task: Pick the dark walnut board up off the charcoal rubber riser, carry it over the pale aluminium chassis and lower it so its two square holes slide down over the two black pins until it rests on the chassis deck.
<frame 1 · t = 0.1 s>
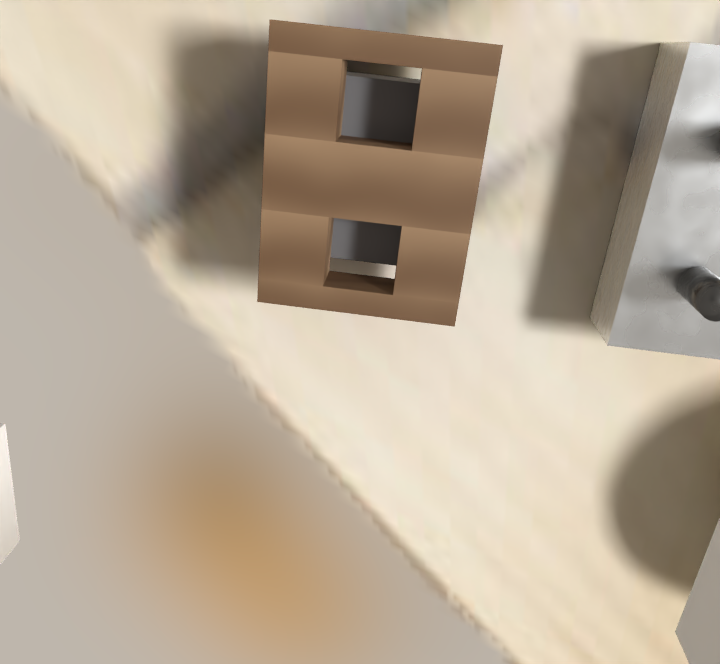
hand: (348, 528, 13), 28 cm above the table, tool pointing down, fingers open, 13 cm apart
board: (372, 175, 33), point 4 cm above the table, touching riser
riser: (377, 162, 37), on the table
chassis: (687, 198, 37), on the table
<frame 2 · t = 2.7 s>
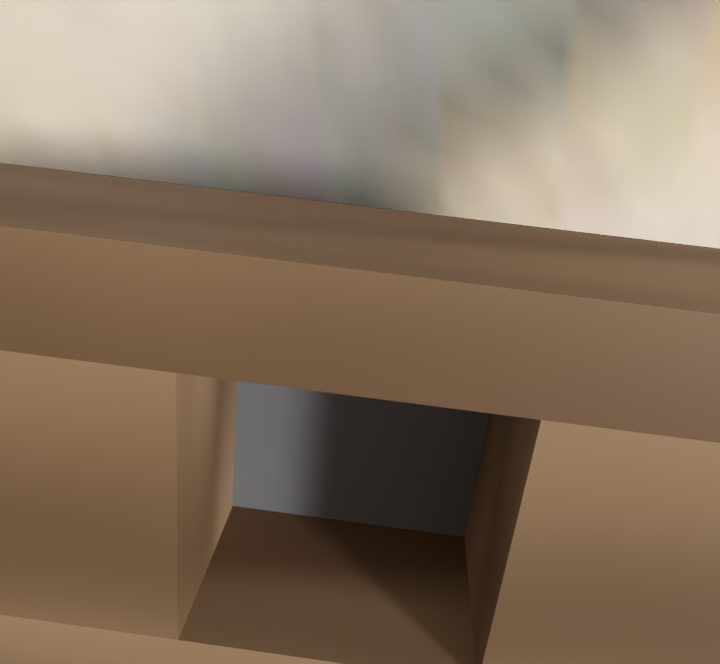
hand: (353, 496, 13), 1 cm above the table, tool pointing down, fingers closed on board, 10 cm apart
board: (337, 609, 11), point 4 cm above the table, touching gripper, riser
riser: (358, 466, 14), on the table
when the fingers open (2 cm above the table, at t = 7.2 s): board drops 1 cm, resting on chassis.
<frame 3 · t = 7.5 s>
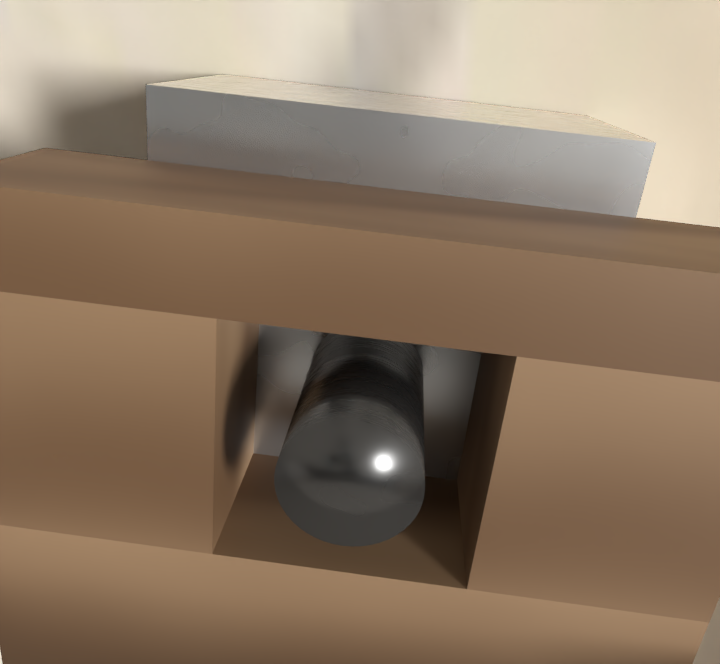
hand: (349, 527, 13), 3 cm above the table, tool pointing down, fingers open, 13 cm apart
board: (345, 547, 12), point 4 cm above the table, touching chassis
chassis: (363, 430, 16), on the table
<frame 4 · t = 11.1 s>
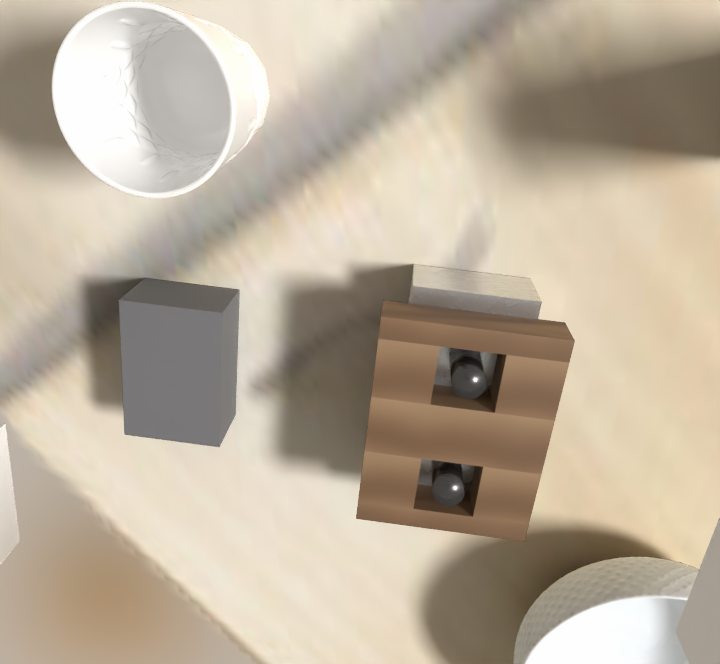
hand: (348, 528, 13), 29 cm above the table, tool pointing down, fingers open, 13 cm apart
board: (455, 413, 39), point 4 cm above the table, touching chassis
white cup: (211, 91, 38), on the table
riser: (191, 349, 44), on the table
chassis: (452, 382, 43), on the table
cereal bowl: (618, 609, 50), on the table
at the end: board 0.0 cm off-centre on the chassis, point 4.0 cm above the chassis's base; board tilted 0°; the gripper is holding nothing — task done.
